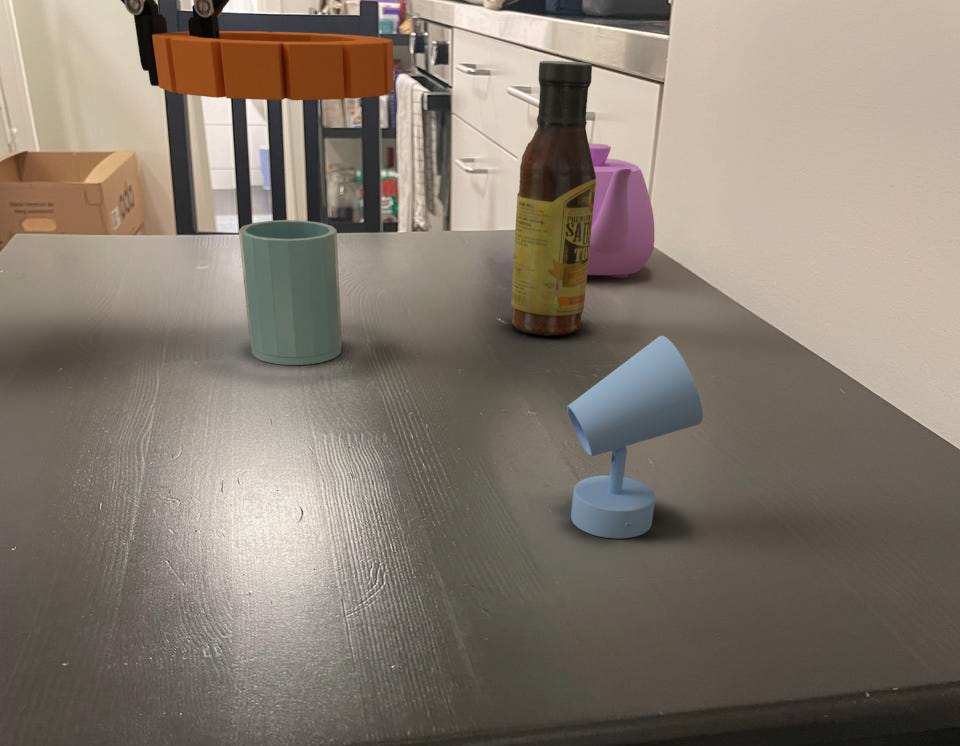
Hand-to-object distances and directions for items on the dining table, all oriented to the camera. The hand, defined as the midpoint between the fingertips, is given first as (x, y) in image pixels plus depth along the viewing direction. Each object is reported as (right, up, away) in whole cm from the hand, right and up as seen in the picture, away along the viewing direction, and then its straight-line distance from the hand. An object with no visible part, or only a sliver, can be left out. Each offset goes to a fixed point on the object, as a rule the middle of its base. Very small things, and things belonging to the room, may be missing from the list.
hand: (184, 82), depth 66 cm
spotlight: (+28, -32, -12) cm, 44 cm away
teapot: (+32, 0, +35) cm, 47 cm away
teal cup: (+6, -15, +10) cm, 19 cm away
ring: (+6, 0, 0) cm, 7 cm away
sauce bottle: (+26, -11, +18) cm, 33 cm away
